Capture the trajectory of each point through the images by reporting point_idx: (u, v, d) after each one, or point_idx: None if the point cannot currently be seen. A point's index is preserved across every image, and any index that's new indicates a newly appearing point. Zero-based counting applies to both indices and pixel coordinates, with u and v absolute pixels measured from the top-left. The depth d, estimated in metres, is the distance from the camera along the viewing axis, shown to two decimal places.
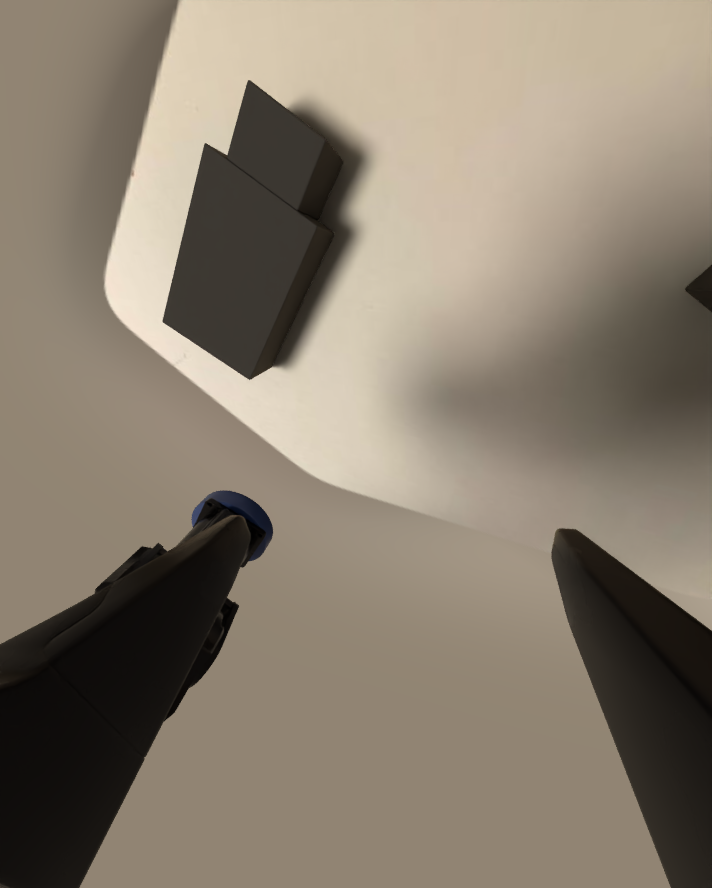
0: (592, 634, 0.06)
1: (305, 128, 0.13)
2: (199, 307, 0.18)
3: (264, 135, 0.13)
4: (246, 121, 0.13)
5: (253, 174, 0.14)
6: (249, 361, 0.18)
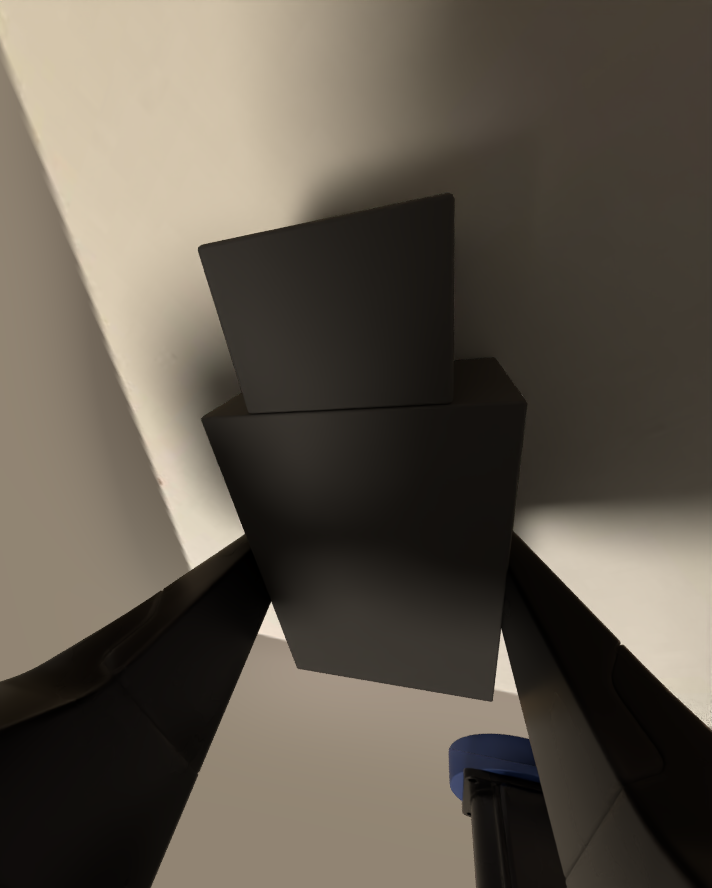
0: (510, 625, 0.07)
1: (378, 219, 0.04)
2: (341, 636, 0.09)
3: (293, 319, 0.05)
4: (242, 323, 0.05)
5: (313, 404, 0.06)
6: (477, 679, 0.08)
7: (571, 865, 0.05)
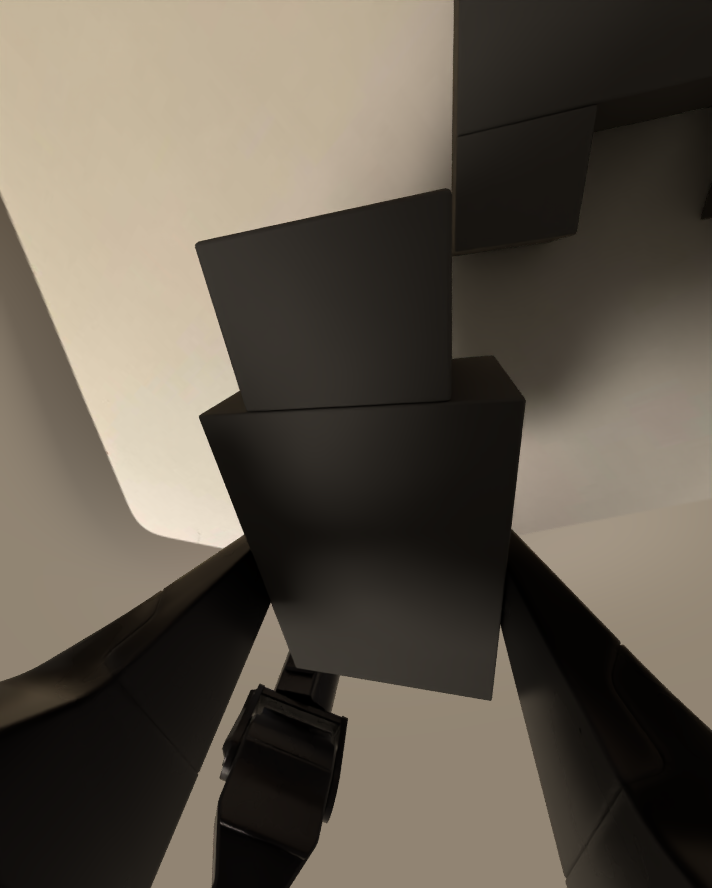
0: (510, 625, 0.07)
1: (375, 215, 0.04)
2: (339, 635, 0.09)
3: (290, 316, 0.05)
4: (239, 320, 0.05)
5: (311, 402, 0.06)
6: (476, 678, 0.08)
7: (571, 865, 0.05)
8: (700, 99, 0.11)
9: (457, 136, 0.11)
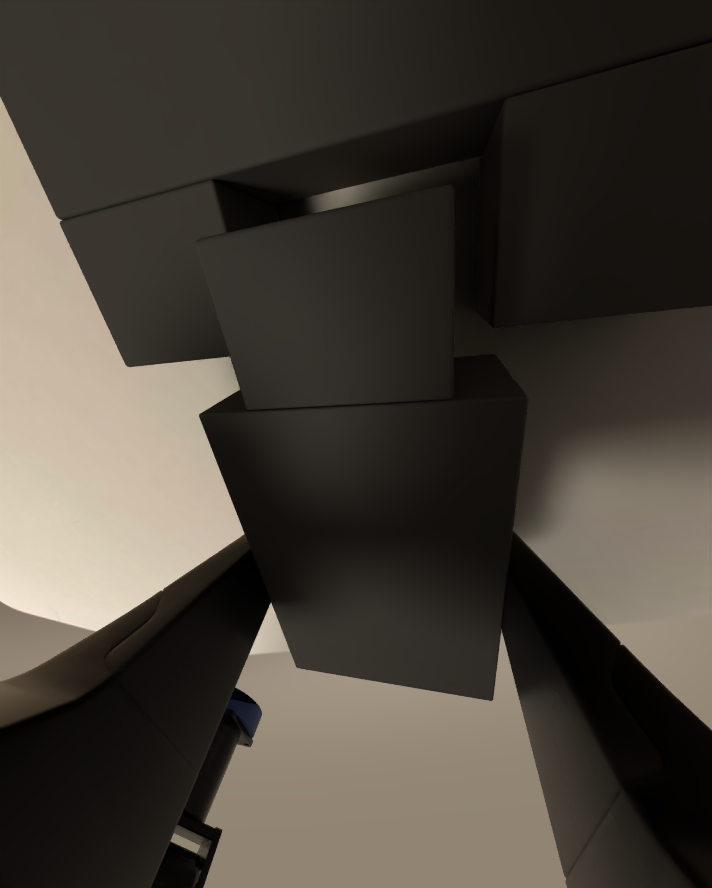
0: (510, 625, 0.07)
1: (377, 212, 0.04)
2: (340, 635, 0.09)
3: (291, 314, 0.05)
4: (240, 319, 0.05)
5: (311, 401, 0.06)
6: (477, 678, 0.08)
7: (571, 866, 0.05)
8: (405, 160, 0.07)
9: (63, 219, 0.07)
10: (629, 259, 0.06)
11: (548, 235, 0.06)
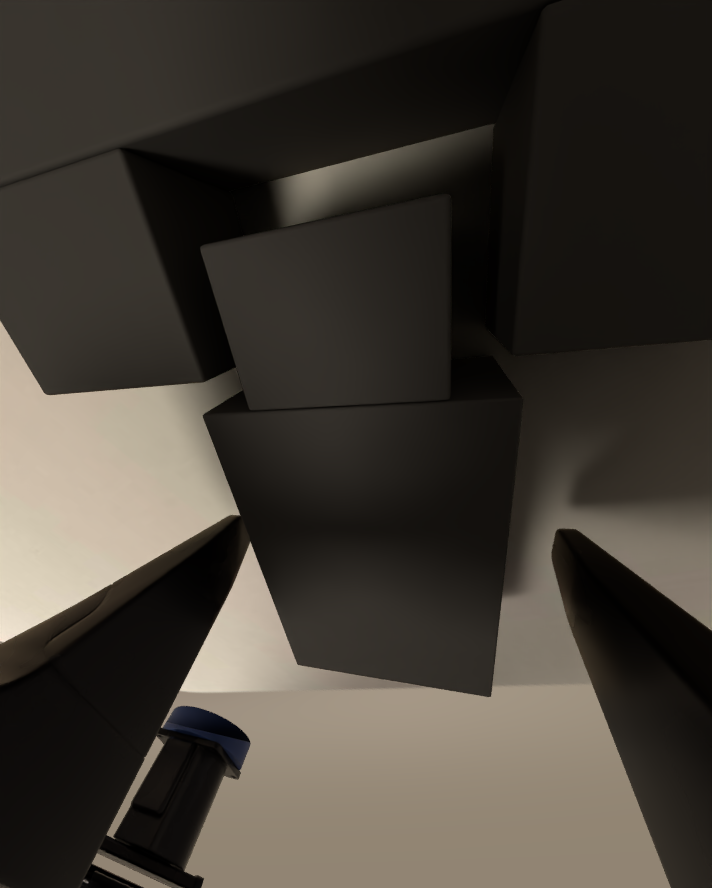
0: (592, 634, 0.06)
1: (376, 219, 0.04)
2: (340, 632, 0.09)
3: (293, 317, 0.05)
4: (243, 321, 0.05)
5: (313, 401, 0.06)
6: (475, 674, 0.09)
7: None
8: (393, 125, 0.05)
9: None
10: None
11: (600, 225, 0.04)
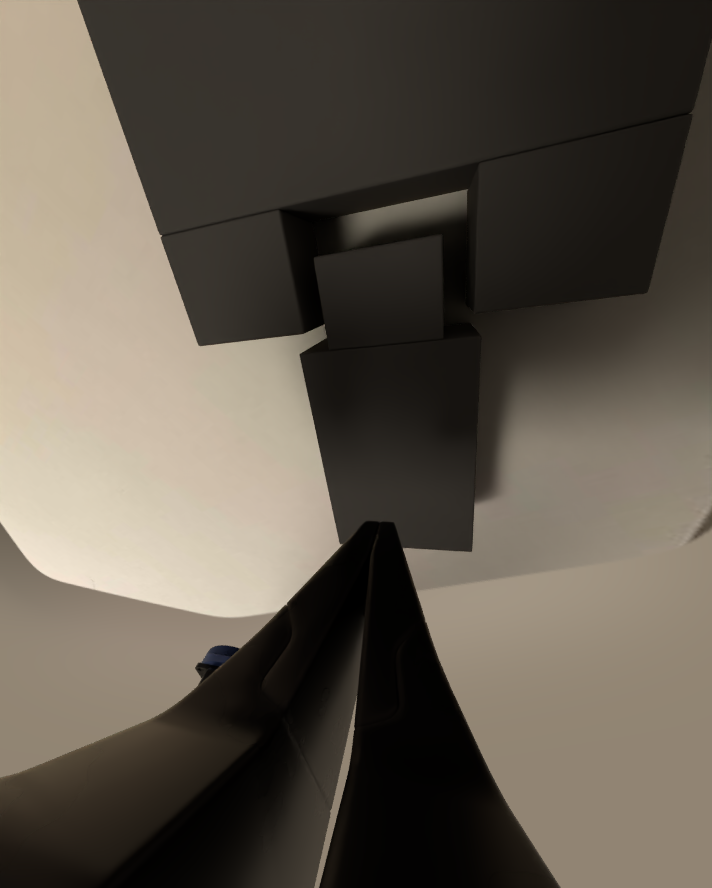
0: None
1: (407, 245, 0.09)
2: (372, 509, 0.14)
3: (360, 294, 0.10)
4: (332, 297, 0.10)
5: (367, 342, 0.10)
6: (461, 533, 0.13)
7: None
8: (413, 193, 0.10)
9: (163, 235, 0.10)
10: (564, 265, 0.08)
11: (509, 249, 0.08)
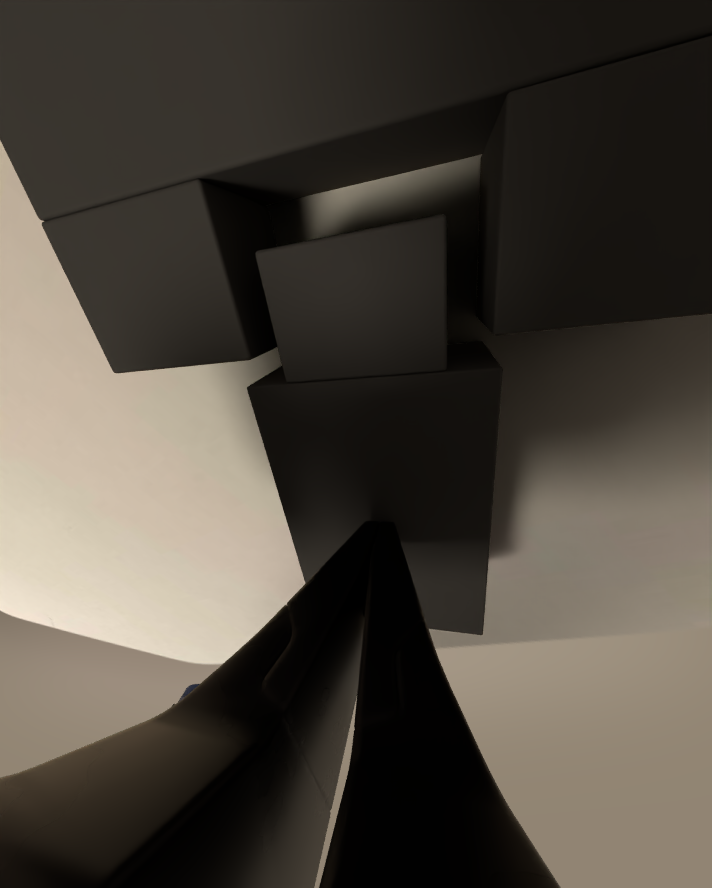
0: None
1: (391, 233, 0.06)
2: None
3: (325, 306, 0.07)
4: (285, 309, 0.07)
5: (338, 374, 0.07)
6: (469, 613, 0.10)
7: None
8: (402, 158, 0.07)
9: (45, 220, 0.07)
10: (639, 263, 0.05)
11: (552, 238, 0.05)
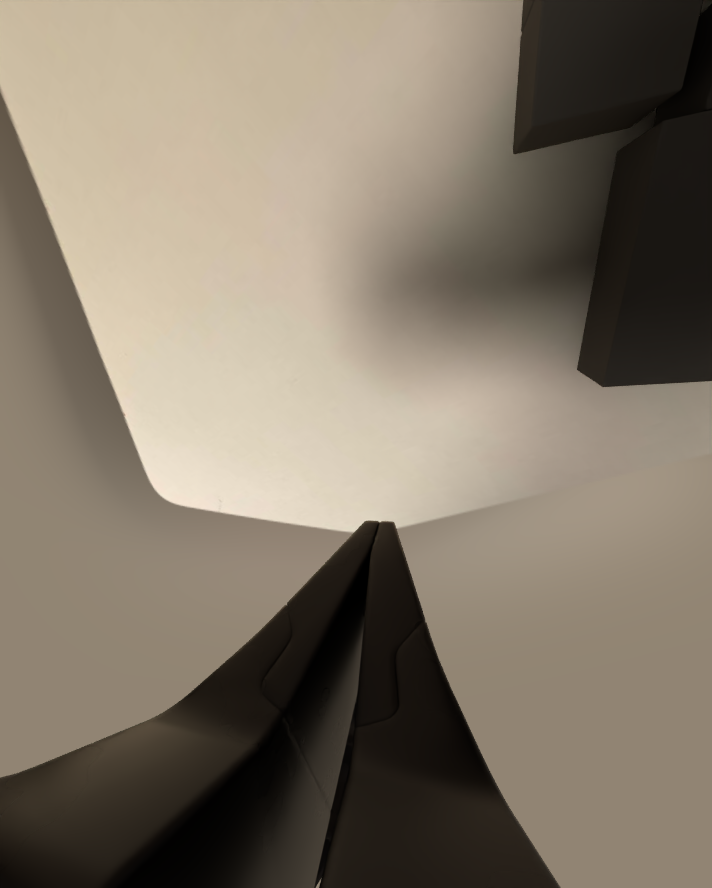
0: None
1: None
2: (667, 332, 0.13)
3: None
4: None
5: None
6: None
7: None
8: None
9: None
10: None
11: None
